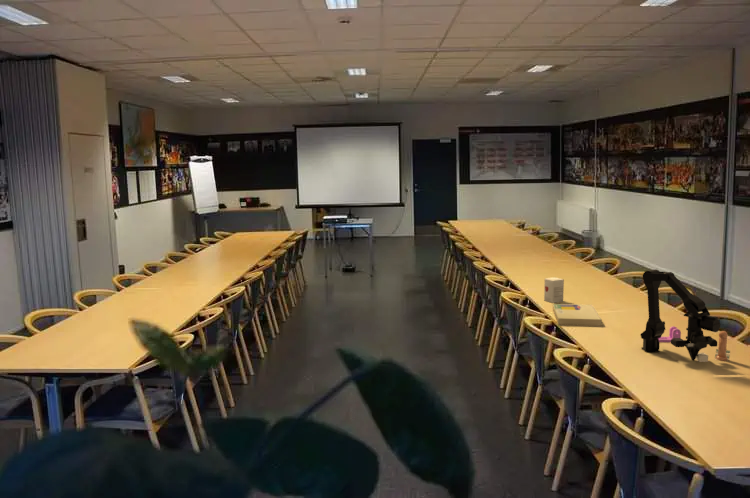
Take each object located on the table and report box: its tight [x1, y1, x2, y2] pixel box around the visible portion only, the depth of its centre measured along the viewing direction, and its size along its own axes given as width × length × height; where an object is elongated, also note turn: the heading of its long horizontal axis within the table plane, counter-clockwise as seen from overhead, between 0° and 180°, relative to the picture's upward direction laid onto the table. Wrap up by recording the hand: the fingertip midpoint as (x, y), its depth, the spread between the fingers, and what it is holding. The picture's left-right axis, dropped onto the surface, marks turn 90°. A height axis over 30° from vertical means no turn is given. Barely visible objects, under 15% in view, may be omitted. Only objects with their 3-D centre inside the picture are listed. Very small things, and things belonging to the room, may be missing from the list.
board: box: [714, 348, 731, 362], centre depth 300 cm, size 20×6×1 cm, turn 150°
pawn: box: [716, 330, 729, 362], centre depth 294 cm, size 5×5×13 cm
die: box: [695, 352, 709, 363], centre depth 293 cm, size 4×4×4 cm
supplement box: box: [543, 276, 565, 304], centre depth 419 cm, size 9×9×15 cm
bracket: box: [658, 326, 682, 343], centre depth 328 cm, size 13×6×7 cm, turn 83°
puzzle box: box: [552, 303, 603, 327], centre depth 377 cm, size 36×5×24 cm
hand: (692, 360), depth 294 cm, fingers closed
